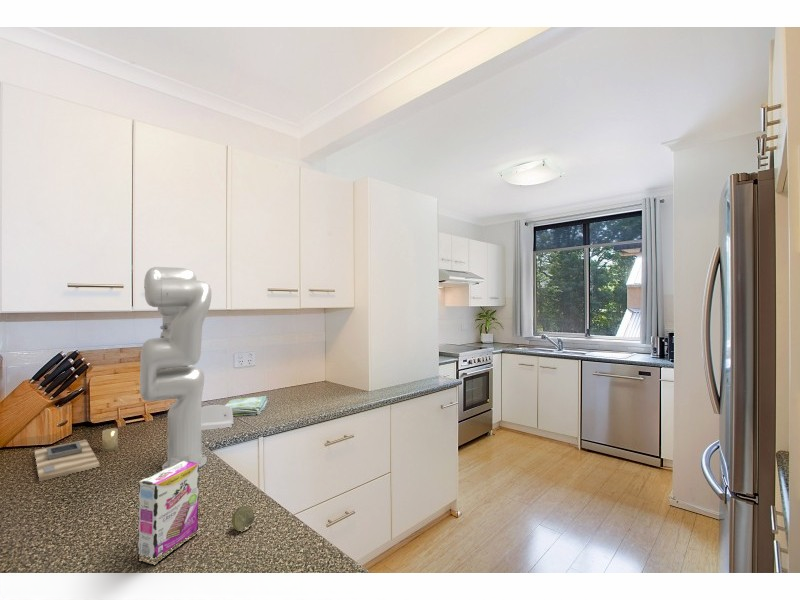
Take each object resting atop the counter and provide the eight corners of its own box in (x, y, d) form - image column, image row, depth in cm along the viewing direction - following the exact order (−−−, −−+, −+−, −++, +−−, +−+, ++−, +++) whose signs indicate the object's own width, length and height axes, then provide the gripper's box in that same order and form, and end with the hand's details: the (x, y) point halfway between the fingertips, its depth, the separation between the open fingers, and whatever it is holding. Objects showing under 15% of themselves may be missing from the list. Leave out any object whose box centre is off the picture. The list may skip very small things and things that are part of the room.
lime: (255, 523, 91) (255, 502, 91) (248, 535, 86) (248, 513, 86) (236, 523, 91) (236, 502, 91) (228, 536, 86) (228, 513, 86)
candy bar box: (156, 567, 76) (155, 484, 76) (136, 562, 78) (136, 481, 78) (200, 534, 87) (199, 461, 87) (182, 530, 88) (182, 459, 88)
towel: (218, 418, 174) (218, 407, 174) (231, 406, 195) (231, 396, 195) (260, 416, 177) (259, 405, 177) (268, 404, 198) (268, 394, 198)
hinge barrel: (114, 451, 136) (114, 431, 136) (99, 452, 135) (99, 432, 135) (120, 446, 140) (119, 427, 140) (106, 448, 139) (105, 428, 139)
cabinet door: (99, 467, 123) (99, 458, 123) (39, 482, 113) (39, 472, 113) (86, 443, 144) (86, 435, 144) (34, 454, 134) (34, 445, 134)
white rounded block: (188, 431, 156) (190, 406, 160) (190, 431, 161) (192, 407, 164) (232, 427, 161) (233, 402, 164) (233, 427, 165) (234, 403, 169)
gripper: (159, 329, 145) (159, 375, 145) (198, 326, 161) (198, 367, 161) (146, 329, 148) (146, 373, 148) (185, 326, 164) (186, 366, 164)
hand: (173, 370), depth 154 cm, fingers open, 9 cm apart
